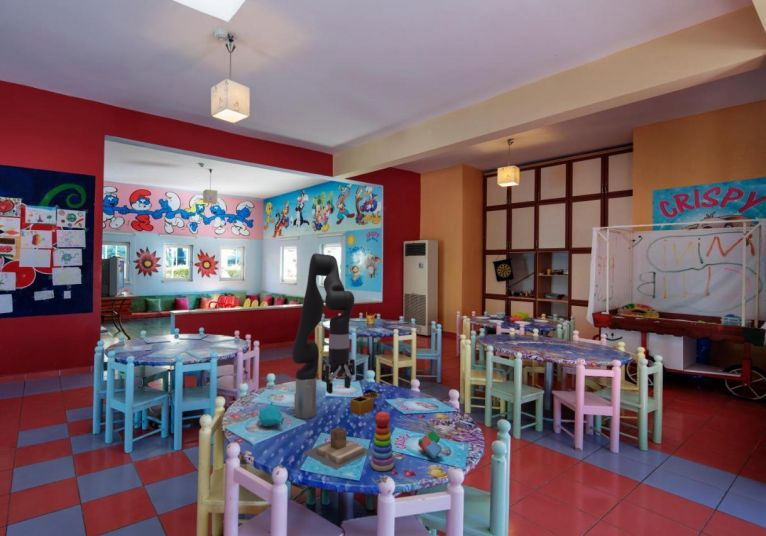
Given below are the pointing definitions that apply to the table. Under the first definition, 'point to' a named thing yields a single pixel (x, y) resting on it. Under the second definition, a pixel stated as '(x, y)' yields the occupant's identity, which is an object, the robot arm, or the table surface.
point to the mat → (330, 463)
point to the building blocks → (430, 444)
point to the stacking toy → (382, 444)
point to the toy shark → (270, 416)
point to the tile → (340, 452)
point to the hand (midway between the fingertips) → (338, 390)
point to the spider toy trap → (363, 403)
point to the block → (338, 438)
